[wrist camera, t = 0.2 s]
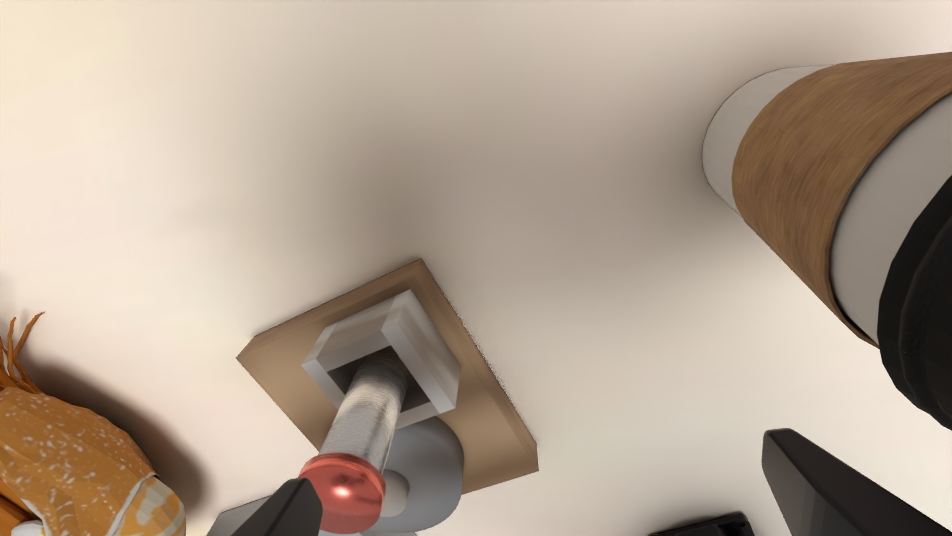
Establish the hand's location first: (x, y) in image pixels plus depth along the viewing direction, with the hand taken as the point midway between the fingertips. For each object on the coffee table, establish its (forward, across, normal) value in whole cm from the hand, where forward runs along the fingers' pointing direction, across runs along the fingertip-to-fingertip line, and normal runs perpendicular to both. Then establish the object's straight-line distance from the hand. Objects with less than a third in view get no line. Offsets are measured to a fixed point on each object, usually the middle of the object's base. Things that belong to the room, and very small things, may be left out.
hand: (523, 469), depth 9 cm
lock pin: (+12, +7, +5) cm, 15 cm away
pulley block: (+14, +8, +9) cm, 19 cm away
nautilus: (+14, +29, +8) cm, 34 cm away
